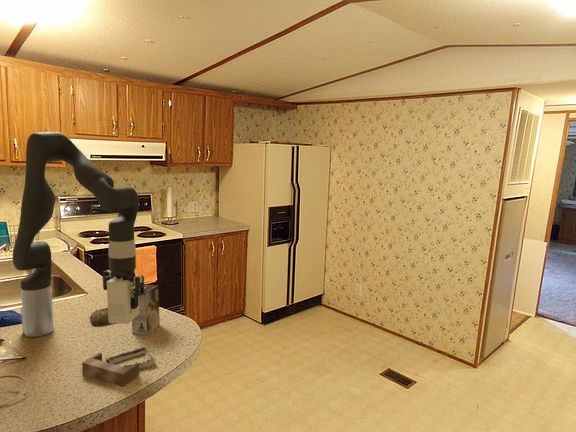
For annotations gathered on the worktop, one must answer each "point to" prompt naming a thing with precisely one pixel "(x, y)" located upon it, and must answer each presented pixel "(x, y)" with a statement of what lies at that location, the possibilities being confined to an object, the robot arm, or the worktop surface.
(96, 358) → the walnut arch
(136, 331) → the coffee box
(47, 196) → the robot arm
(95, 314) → the bread roll
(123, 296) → the small box
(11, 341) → the worktop surface
